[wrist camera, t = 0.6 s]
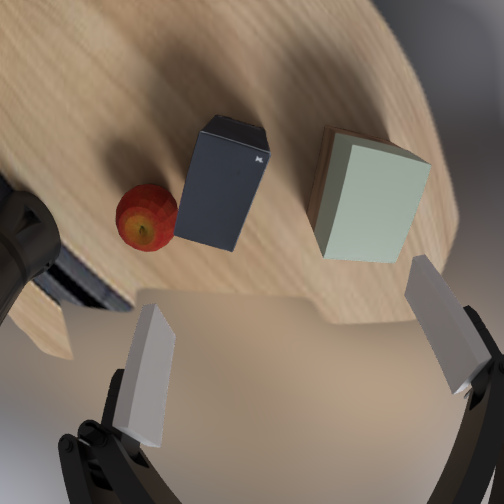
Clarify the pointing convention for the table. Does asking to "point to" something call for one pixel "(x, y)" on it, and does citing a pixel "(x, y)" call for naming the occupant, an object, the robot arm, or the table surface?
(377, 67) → the table surface
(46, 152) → the table surface
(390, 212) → the tower top
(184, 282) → the table surface
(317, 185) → the tower base
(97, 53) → the table surface
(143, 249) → the apple
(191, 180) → the small box
